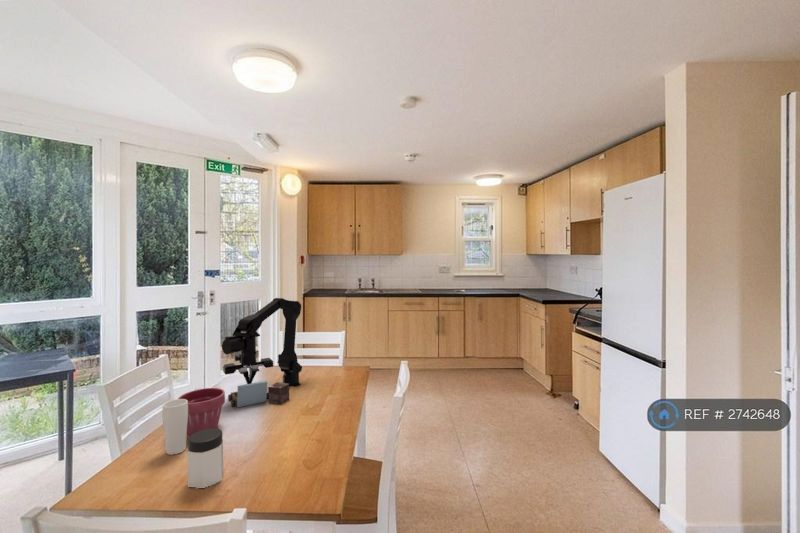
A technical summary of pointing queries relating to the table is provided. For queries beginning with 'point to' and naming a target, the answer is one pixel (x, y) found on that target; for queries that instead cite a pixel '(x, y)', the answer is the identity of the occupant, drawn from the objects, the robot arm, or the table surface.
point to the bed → (233, 399)
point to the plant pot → (203, 409)
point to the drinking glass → (175, 425)
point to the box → (278, 393)
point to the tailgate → (251, 393)
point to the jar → (205, 458)
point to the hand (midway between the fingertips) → (249, 386)
